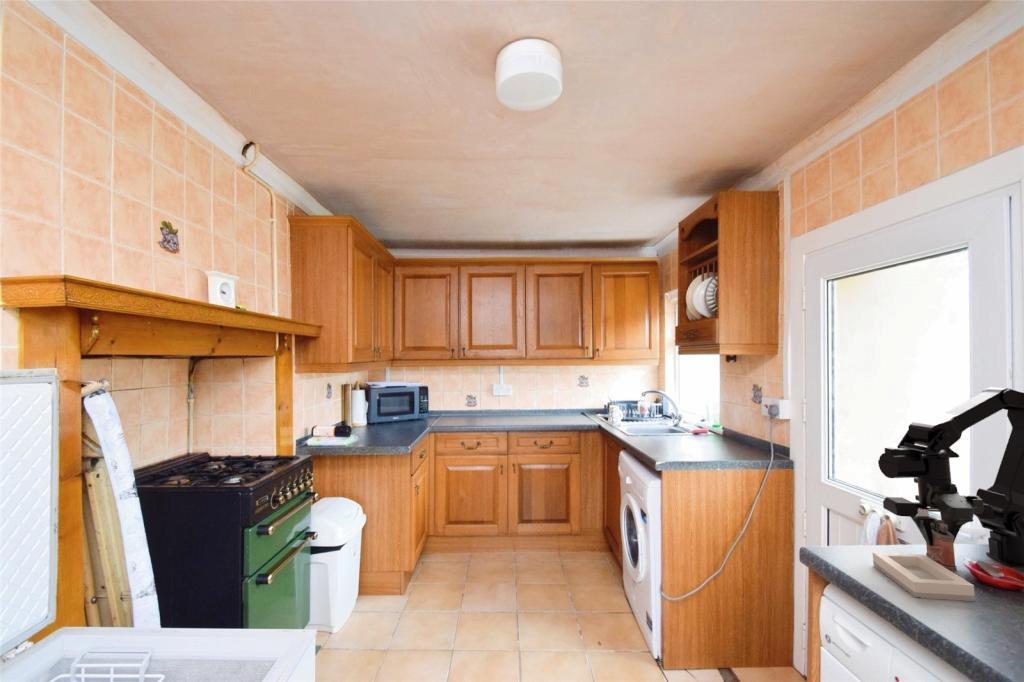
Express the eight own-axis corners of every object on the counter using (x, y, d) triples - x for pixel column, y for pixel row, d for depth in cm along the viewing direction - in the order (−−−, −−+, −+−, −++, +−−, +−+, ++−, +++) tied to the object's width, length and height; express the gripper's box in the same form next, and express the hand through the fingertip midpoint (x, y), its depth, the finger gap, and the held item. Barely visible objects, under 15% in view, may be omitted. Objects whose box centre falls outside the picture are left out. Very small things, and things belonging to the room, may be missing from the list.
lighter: (961, 572, 97) (957, 526, 98) (942, 570, 98) (938, 524, 99) (939, 556, 105) (936, 513, 105) (922, 555, 106) (918, 512, 106)
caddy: (924, 568, 100) (923, 554, 100) (975, 601, 86) (973, 585, 86) (873, 565, 102) (872, 552, 102) (915, 597, 88) (913, 581, 88)
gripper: (909, 485, 97) (916, 558, 96) (1013, 487, 93) (1021, 563, 92) (879, 472, 107) (884, 538, 107) (971, 474, 104) (977, 542, 103)
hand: (939, 545), depth 102 cm, fingers closed on lighter, 3 cm apart
